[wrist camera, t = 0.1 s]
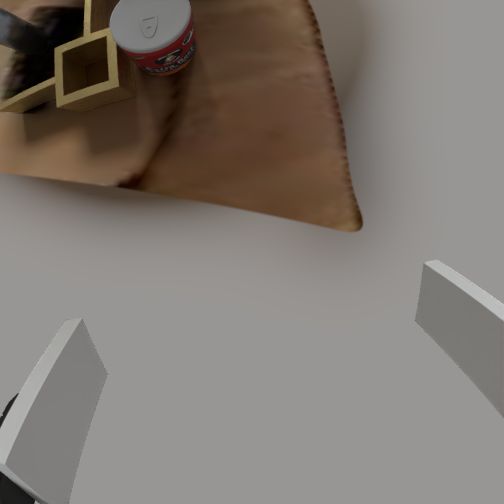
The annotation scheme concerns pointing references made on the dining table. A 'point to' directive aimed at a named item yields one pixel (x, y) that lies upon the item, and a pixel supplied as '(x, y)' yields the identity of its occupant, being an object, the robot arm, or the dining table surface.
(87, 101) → the hinge
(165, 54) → the canned food
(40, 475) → the robot arm
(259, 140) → the dining table surface
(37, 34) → the pin
